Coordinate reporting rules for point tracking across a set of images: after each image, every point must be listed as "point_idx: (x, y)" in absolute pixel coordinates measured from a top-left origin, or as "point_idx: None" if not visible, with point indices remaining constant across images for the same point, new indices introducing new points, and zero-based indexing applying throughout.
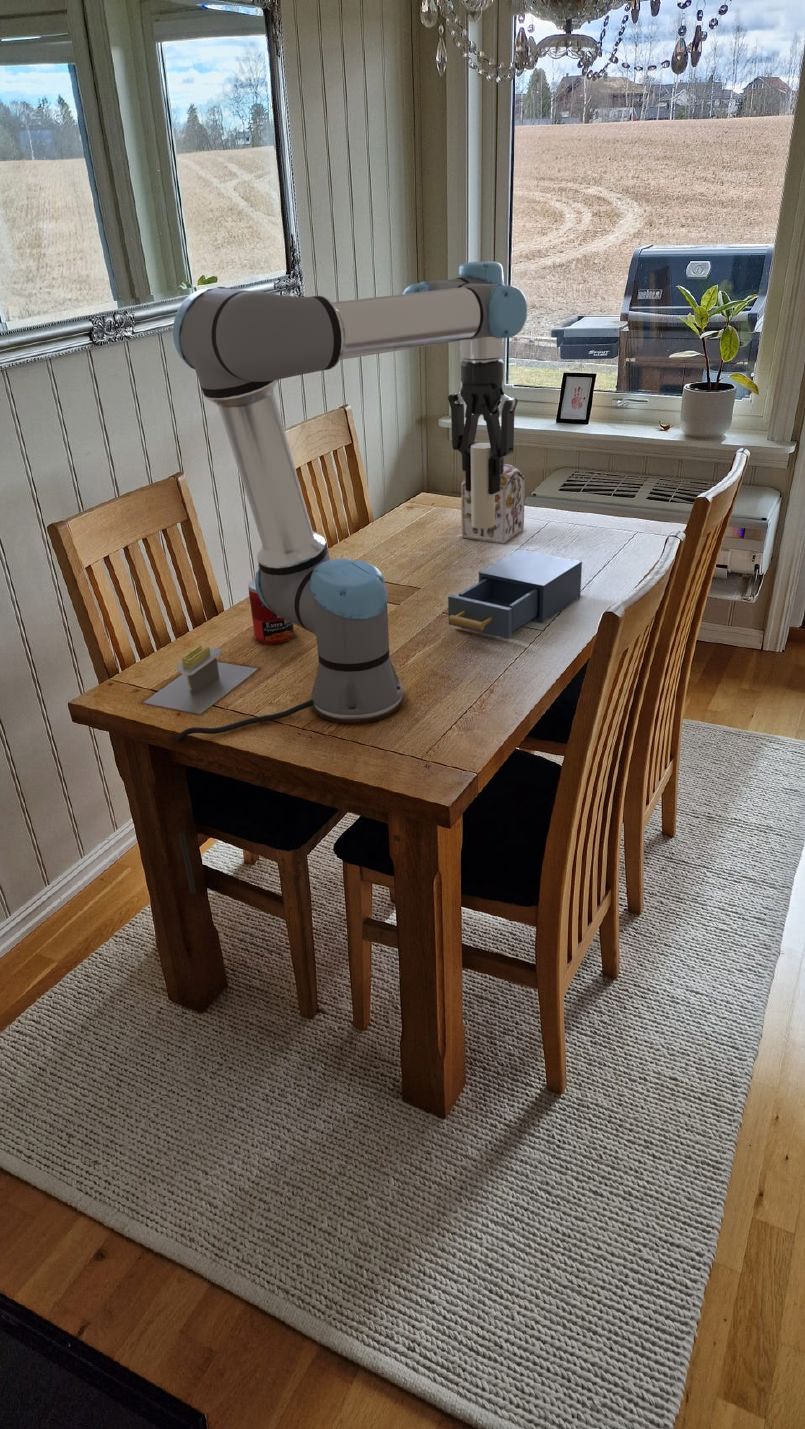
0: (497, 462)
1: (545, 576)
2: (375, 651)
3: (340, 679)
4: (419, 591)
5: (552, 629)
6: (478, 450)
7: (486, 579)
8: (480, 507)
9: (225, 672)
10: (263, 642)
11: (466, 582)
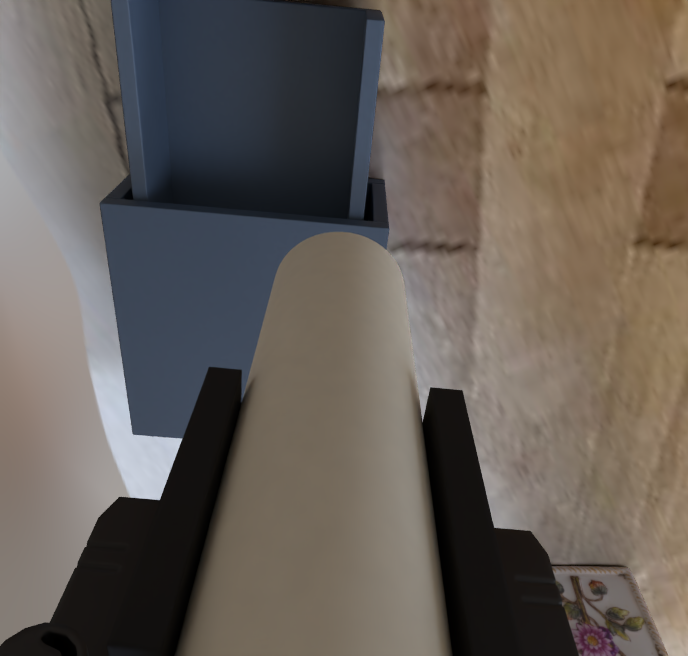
0: (78, 625)
1: (150, 286)
2: None
3: None
4: (630, 221)
5: (90, 124)
6: None
7: (352, 214)
8: (311, 295)
9: None
10: None
11: (506, 337)
